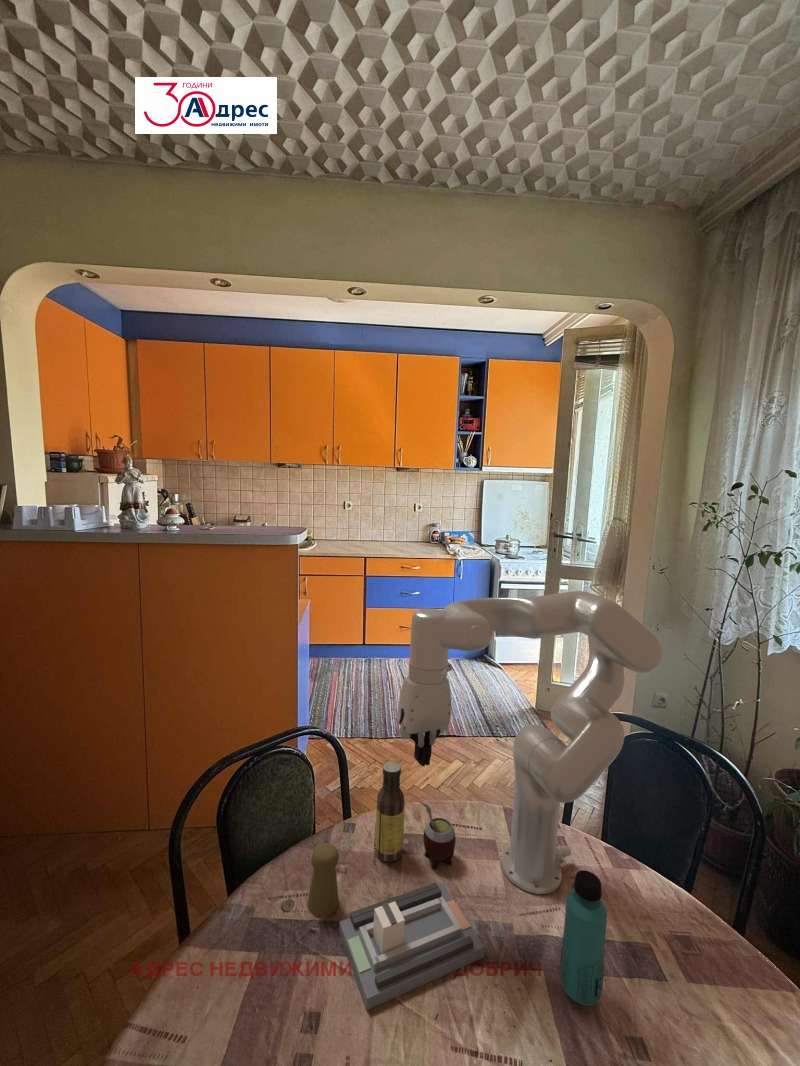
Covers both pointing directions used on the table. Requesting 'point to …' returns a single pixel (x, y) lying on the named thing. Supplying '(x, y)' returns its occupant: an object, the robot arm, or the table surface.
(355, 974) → the panel
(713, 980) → the table surface
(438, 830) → the mate gourd
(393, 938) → the toggle
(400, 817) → the sauce bottle
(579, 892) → the beverage bottle
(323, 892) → the olive brown pawn
